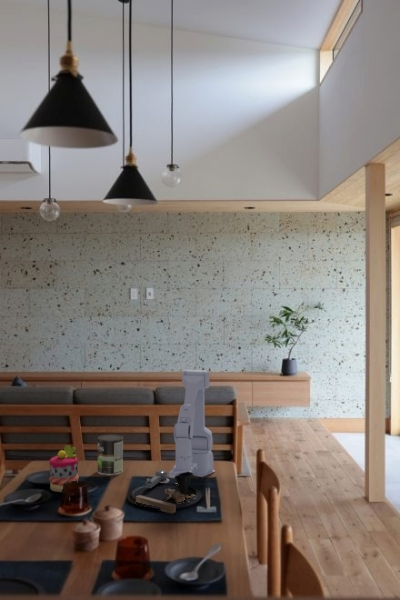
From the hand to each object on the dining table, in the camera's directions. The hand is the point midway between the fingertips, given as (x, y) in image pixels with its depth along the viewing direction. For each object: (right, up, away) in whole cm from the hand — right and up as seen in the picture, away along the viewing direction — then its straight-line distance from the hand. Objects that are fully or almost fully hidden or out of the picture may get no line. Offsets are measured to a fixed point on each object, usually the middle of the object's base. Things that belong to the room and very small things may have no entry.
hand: (183, 492), depth 238 cm
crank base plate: (-9, 0, +17) cm, 19 cm away
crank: (-11, 0, +12) cm, 16 cm away
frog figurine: (-2, -2, -4) cm, 4 cm away
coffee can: (-30, 0, +28) cm, 41 cm away
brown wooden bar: (-9, -1, -13) cm, 16 cm away
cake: (-45, -1, +8) cm, 46 cm away
